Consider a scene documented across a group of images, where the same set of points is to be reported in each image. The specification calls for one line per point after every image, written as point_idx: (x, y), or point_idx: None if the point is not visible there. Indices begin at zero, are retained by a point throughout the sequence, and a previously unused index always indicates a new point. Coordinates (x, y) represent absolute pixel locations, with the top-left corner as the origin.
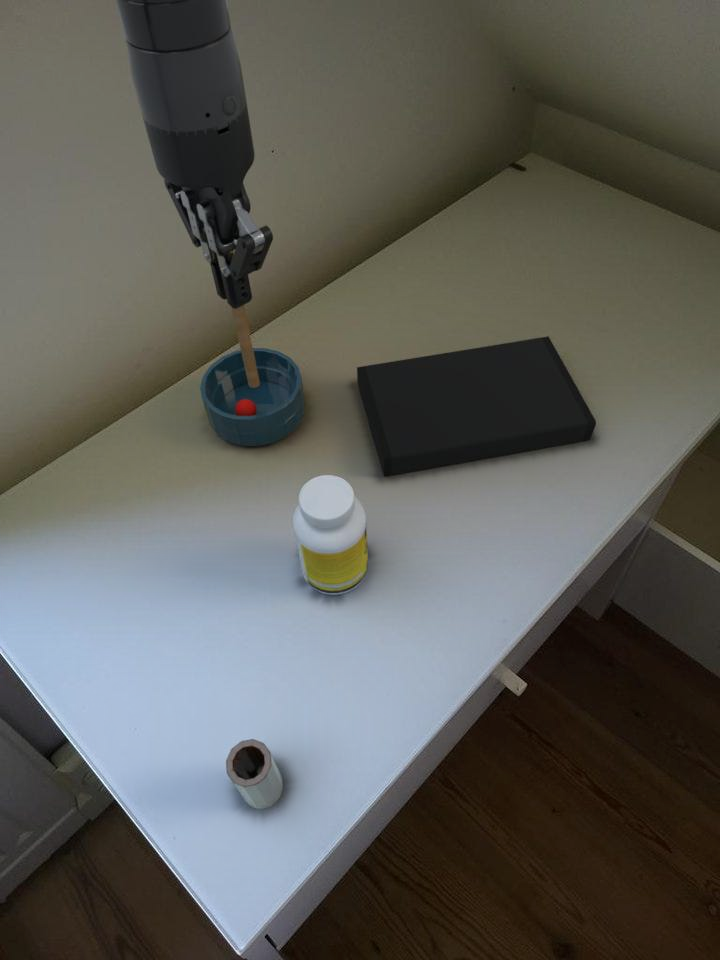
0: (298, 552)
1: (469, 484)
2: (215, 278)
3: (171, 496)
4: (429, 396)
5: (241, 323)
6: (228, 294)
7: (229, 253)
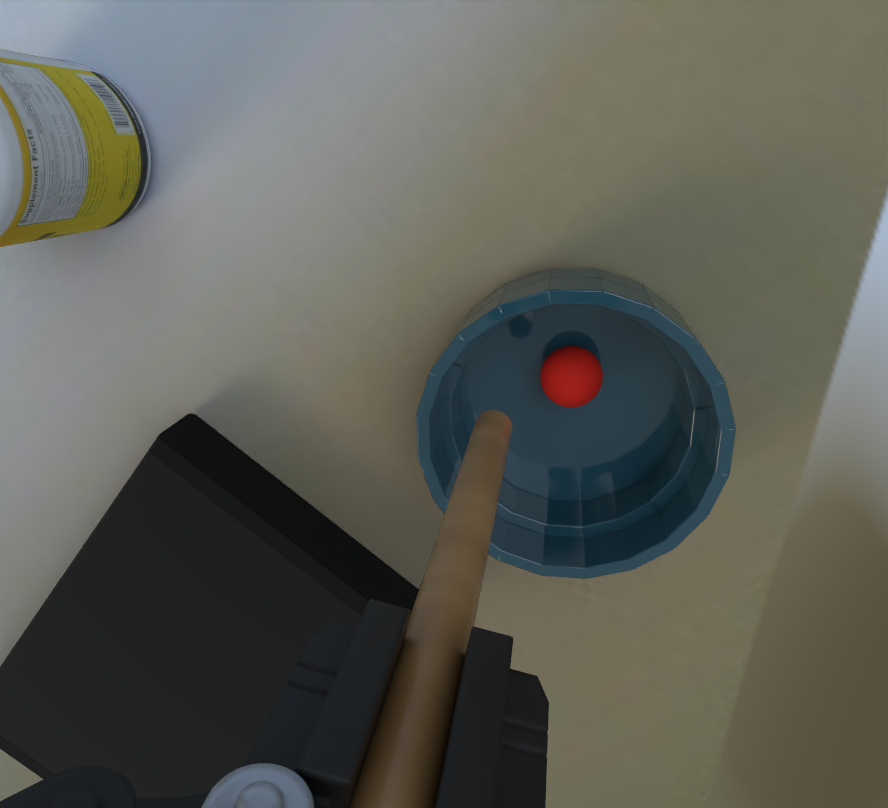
0: (28, 62)
1: (66, 492)
2: (477, 725)
3: (556, 18)
4: (220, 636)
5: (429, 562)
6: (351, 656)
7: None
